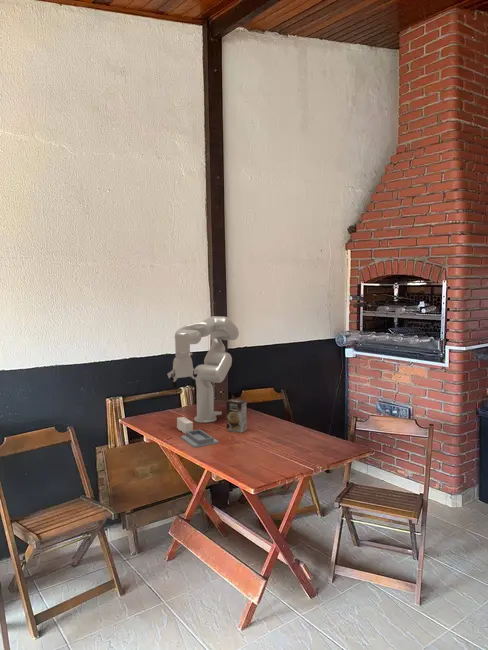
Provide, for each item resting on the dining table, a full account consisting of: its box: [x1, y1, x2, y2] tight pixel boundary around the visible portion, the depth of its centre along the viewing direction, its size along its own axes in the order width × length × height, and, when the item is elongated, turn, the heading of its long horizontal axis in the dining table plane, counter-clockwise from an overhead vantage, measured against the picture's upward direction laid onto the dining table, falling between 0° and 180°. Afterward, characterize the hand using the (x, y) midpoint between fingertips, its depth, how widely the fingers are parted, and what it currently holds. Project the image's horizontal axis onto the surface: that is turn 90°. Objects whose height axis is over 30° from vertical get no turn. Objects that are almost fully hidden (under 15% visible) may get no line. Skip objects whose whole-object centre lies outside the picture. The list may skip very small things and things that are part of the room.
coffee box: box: [226, 398, 247, 434], centre depth 279 cm, size 9×6×16 cm
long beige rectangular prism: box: [176, 416, 194, 435], centre depth 279 cm, size 4×12×6 cm, turn 29°
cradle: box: [180, 429, 220, 449], centre depth 263 cm, size 13×17×3 cm
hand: (183, 387), depth 277 cm, fingers open, 9 cm apart
